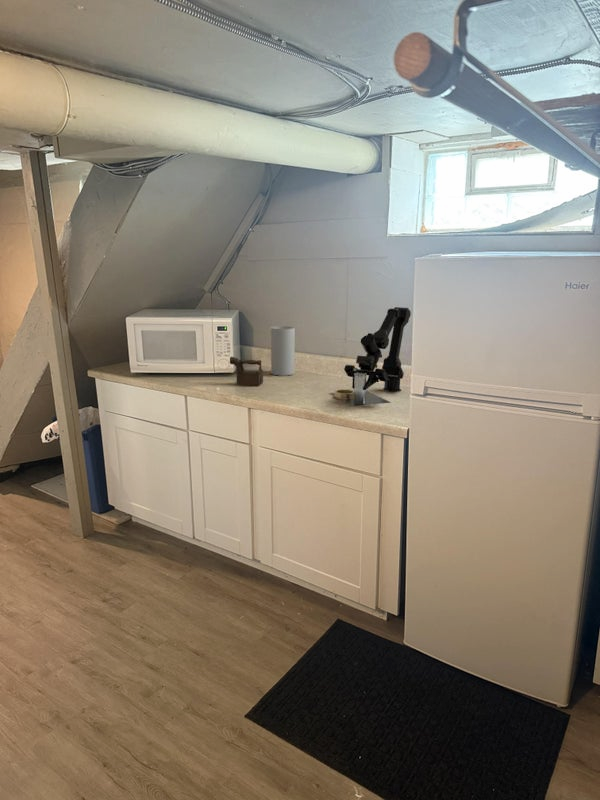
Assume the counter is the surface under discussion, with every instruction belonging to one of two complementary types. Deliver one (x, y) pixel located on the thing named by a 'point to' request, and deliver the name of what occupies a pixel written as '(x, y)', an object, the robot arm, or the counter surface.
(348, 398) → the base
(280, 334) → the cylinder vase
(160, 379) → the counter surface
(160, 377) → the counter surface
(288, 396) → the counter surface
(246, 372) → the clothes iron
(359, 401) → the grey cylindrical piece
